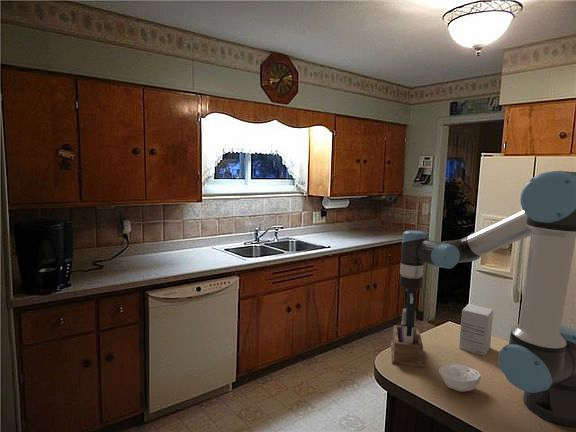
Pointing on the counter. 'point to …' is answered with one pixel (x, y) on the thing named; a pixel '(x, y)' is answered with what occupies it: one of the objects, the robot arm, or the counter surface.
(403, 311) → the container
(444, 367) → the cell model
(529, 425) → the counter surface
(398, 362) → the open wooden box
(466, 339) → the supplement box
